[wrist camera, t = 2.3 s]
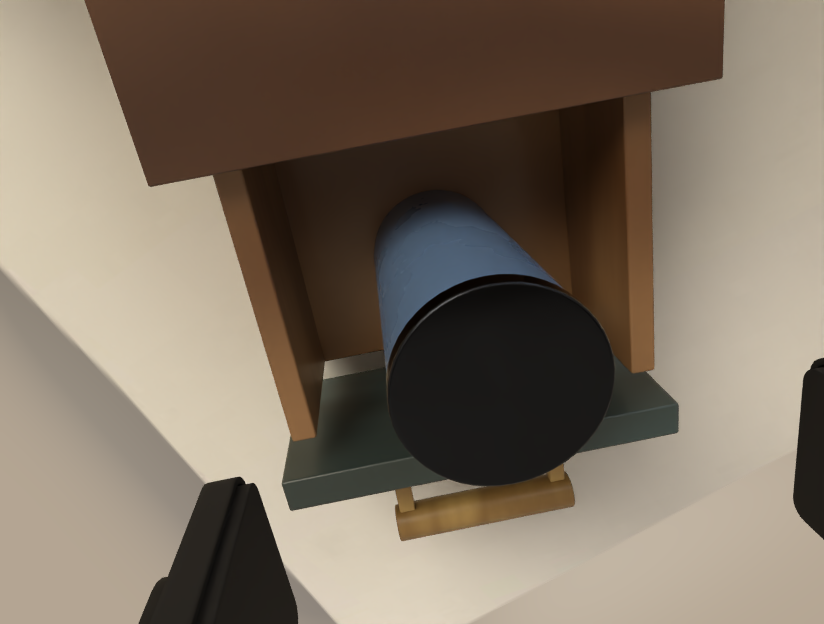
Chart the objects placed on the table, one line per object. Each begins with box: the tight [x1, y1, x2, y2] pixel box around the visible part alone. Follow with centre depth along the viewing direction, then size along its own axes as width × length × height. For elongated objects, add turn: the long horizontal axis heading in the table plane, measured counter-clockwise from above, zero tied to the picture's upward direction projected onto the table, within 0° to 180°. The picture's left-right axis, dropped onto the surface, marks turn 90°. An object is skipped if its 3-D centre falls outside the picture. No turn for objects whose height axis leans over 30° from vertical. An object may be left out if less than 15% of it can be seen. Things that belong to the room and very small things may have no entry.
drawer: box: [213, 92, 679, 541], centre depth 21 cm, size 19×13×7 cm
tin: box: [374, 190, 615, 486], centre depth 17 cm, size 5×5×11 cm
